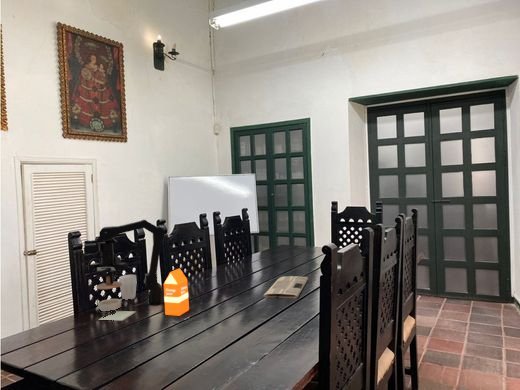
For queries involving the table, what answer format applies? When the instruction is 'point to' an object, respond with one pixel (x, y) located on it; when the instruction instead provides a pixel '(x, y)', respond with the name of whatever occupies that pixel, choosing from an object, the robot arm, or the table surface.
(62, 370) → the table surface
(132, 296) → the cup
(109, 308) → the bowl
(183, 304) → the orange juice
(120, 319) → the mat
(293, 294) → the newspaper
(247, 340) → the table surface
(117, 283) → the lid
